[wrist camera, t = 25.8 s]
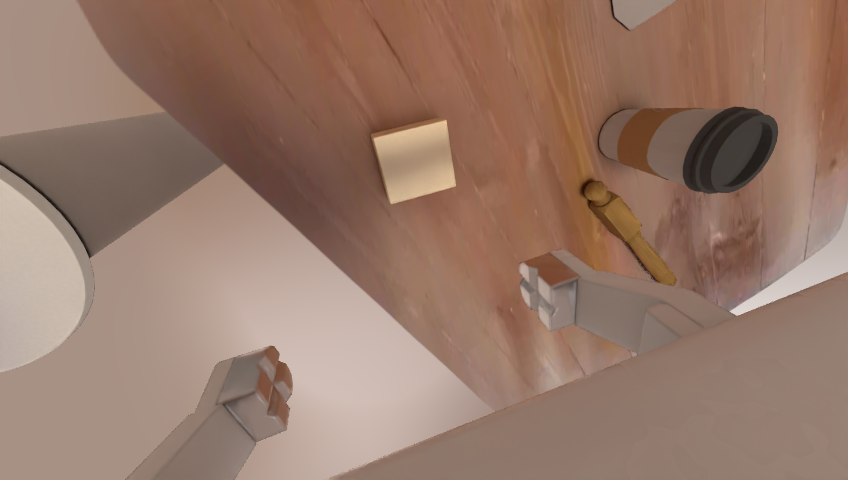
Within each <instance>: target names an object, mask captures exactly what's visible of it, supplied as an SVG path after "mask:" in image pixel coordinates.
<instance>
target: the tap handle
mask: <svg viewBox="0 0 848 480" xmlns="http://www.w3.org/2000/svg"><path fill="white" fill-rule="evenodd" d="M584 194H585V196H586V197H587V198H588V199H589V200H591V203H590V205H589V207H590V208H591V210H592V211H593V212H594V213H595V214H596V215H597V217H598V218H599V219H600V220H601V221H602V222H603V224H604V225H605V226H606V227H607V228H608V229H609V231H610V232H611V233H613V234H614V235H616V236H617V237H619V238H621V239H622V240H623V241H625V242H627V243H628V244H629V245H630V247H631V248H632V250H633V251H634V252H635V254H636V255H637V256H638V258H639V259H640V260H641V262H642V263H643V265H644V266H645V267H646V269H647V270H648V271H649V273H650V274H652V276H653V277H654V278H655V279H656V281H657V282H658V283H661V284H666V285H670V286H673V285H674V284H676V281H677V278H676V276H675V275H674V274H673V272H671V271H670V269H669V267H667V265H666V263H665V262H664V261H663V260H662V259H661V258H660V256H659V255H658V254H657V253H656V252H655V251H654V250H653V249H652V247H651V246H650V245H649V244H648V243H647V242H646V241H645V240H644V238H643V237H642V236H641V232H640V228H641V226H642V225H641V223H640V222H639V221H638V219H637V218H636V217H635V215H634V214H633V213H632V211H631V210H630V209H629V207H628V206H627V205H626V203H625V202H624V201H623V199H622V198H621V197H620V196H618V195H616V194H614V193H612V192H610V191H607V187H606V186H605V185H604V184H603V183H602V182H600V181H593V182H591V183H589V184H588V185H587V186H586V187H585V191H584Z"/></svg>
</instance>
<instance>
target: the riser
mask: <svg viewBox="0 0 848 480" xmlns="http://www.w3.org/2000/svg"><path fill="white" fill-rule="evenodd" d="M370 135H371V139H372V143H373V146H374V150H375V154H376V158H377V161H378V165H379V169H380V173H381V176H382V180H383V184H384V188H385V191H386V195H387V198H388V200H389V202H390V204H394V203H398V202H401V201H405V200H408V199H412V198H416V197H419V196H423V195H426V194H430V193H434V192H437V191H441V190H444V189H448V188H452V187H455V186H456V183H455V176H454V169H453V162H452V155H451V149H450V142H449V135H448V128H447V121H446V120H444V119H441V118H434V119H430V120H426V121H422V122H417V123H413V124H409V125H405V126H401V127H397V128H393V129H389V130H385V131H381V132H377V133H373V134H370Z"/></svg>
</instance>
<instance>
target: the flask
mask: <svg viewBox="0 0 848 480" xmlns="http://www.w3.org/2000/svg"><path fill="white" fill-rule="evenodd" d="M675 1H677V0H612V2H613V9H614V16H615V18H617V19H618V20H619V21H620V22H621V23H623V24H624V25H625V26H626V27H627V28H628V29H630V30H631V29H633V28H634V27H636V26H638V25H639V24H641V23H642V22H644V21H646V20H647V19H649V18H650V17H652V16H653V15H655V14H657V13H658V12H660V11H661V10H663V9H664V8H666V7H667V6H669V5H670V4H672V3H673V2H675Z"/></svg>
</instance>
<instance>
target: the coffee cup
mask: <svg viewBox="0 0 848 480" xmlns="http://www.w3.org/2000/svg"><path fill="white" fill-rule="evenodd" d="M777 136H778V127H777V123H776V121H775V119H774V118H772V117H771V116H769V115H764V114H763V113H762V112H760V111H758V110H757V109H747V108H744V107H732V108H728V109H702V108H658V109H627V110H623V111H620V112H619V113H616V114H615V115H613V116H612V117H611V118H609V119H608V120H607V122H606V123H605V124H604V126H603V128H602V130H601V133H600V136H599V146H600V149H601V151H602V152H603V154H604V155H605V156H606V157H608V158H610V159H613V160H616V161H619V162H620V163H622V164H625V165H628V166H631V167H633V168H636V169H639V170H642V171H644V172H647V173H650V174H653V175H655V176H658V177H661V178H664V179H666V180H672V181H674V182H677V183H680V184H683V185H686V186H687V187H688V188H689V189H691V190H694V191H699V192H704V193H708V194H709V193H718V192H720V193H730V192H733V191H736V190H738V189H740V188H742V187H743V186H745V185H746V184H747V183H749V182H750V181H751V180H752V179H753V178H754V177H755V176H756V175H757V174H758V173H759V172H760V171H761V170H762V168H763V167H764V166H765V164H766V163H767V162H768V160H769V158H770V156H771V154H772V152H773V150H774V147H775V145H776V142H777Z"/></svg>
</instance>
